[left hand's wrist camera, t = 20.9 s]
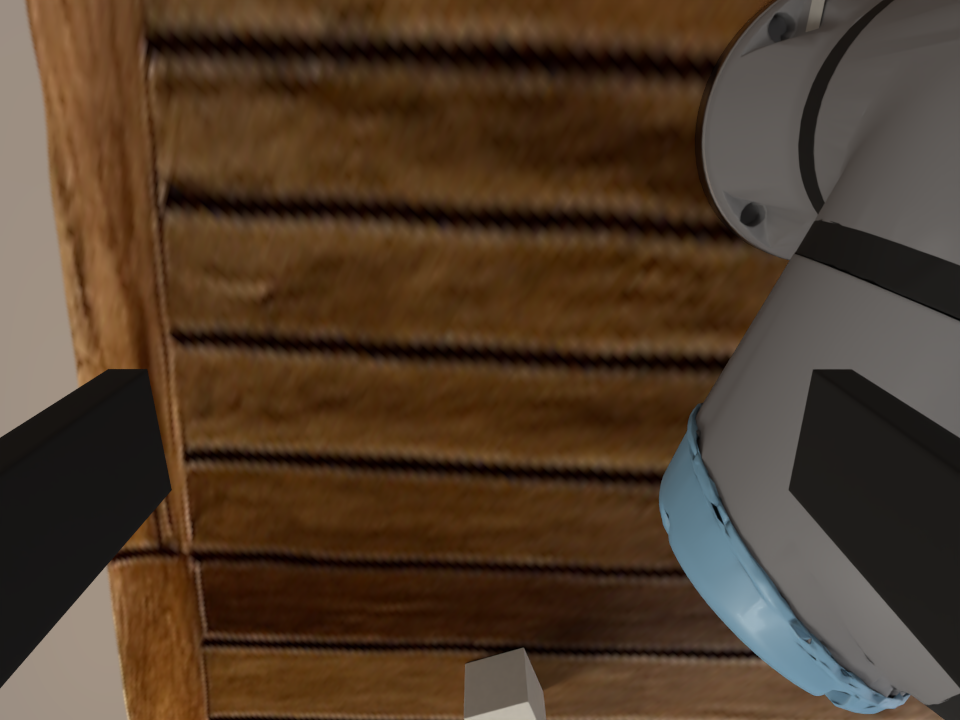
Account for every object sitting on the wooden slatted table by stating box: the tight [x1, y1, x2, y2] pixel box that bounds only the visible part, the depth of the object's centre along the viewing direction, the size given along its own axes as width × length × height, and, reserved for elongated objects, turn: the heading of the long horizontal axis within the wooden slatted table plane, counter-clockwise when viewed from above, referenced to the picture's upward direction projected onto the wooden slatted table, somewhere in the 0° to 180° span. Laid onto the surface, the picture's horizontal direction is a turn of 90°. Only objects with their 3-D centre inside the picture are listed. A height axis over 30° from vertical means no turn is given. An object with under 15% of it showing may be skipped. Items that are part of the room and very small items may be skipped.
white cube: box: [464, 648, 546, 720], centre depth 48 cm, size 5×5×5 cm
